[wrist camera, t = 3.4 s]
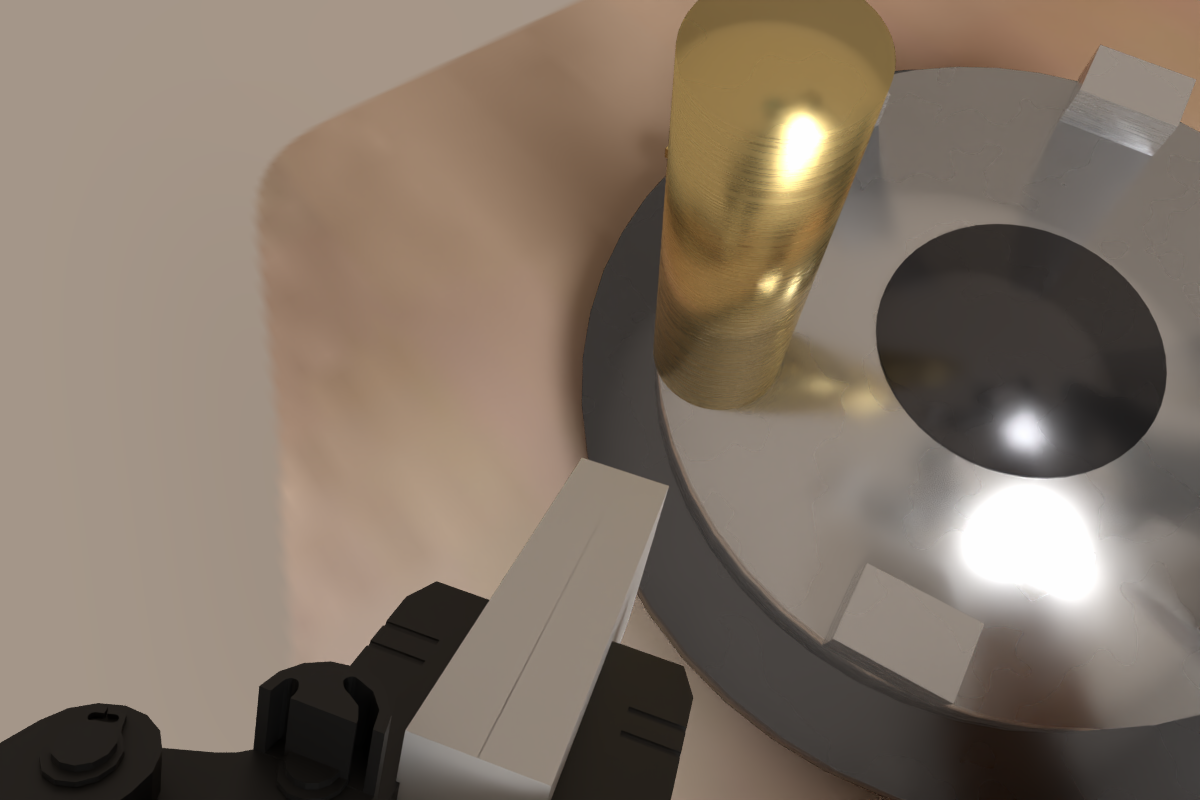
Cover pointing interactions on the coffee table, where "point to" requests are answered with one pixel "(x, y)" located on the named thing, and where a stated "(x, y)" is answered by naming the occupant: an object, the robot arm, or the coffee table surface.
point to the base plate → (782, 665)
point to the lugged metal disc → (939, 362)
